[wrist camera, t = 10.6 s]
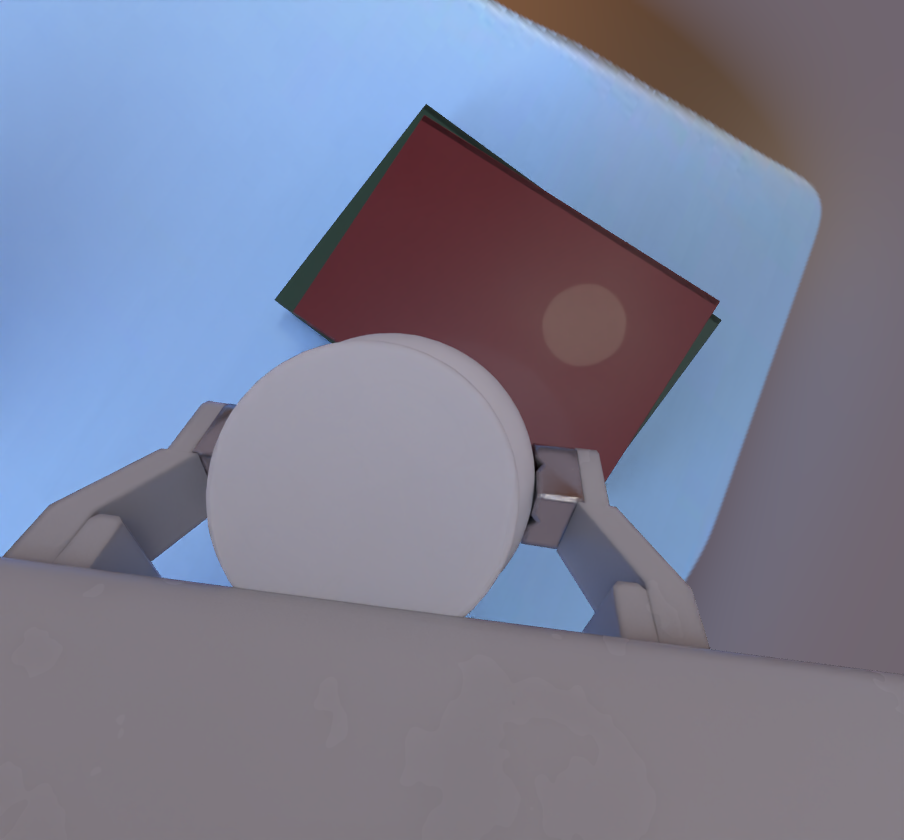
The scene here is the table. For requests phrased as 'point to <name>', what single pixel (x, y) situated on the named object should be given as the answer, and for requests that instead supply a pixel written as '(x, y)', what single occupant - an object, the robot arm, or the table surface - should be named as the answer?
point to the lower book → (333, 236)
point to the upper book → (512, 292)
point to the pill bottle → (372, 477)
